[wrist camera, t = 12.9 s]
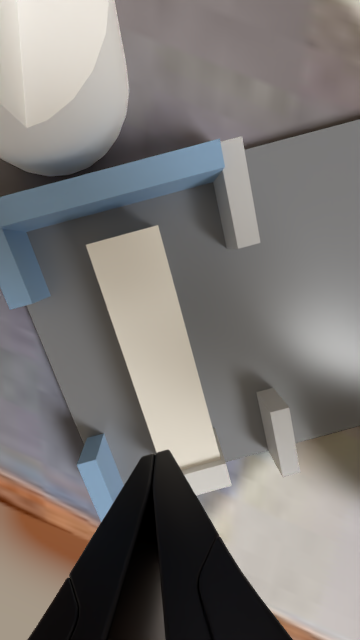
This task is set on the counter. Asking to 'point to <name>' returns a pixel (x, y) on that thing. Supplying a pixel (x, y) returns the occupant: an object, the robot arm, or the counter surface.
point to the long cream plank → (159, 353)
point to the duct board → (204, 292)
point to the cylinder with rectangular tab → (60, 83)
